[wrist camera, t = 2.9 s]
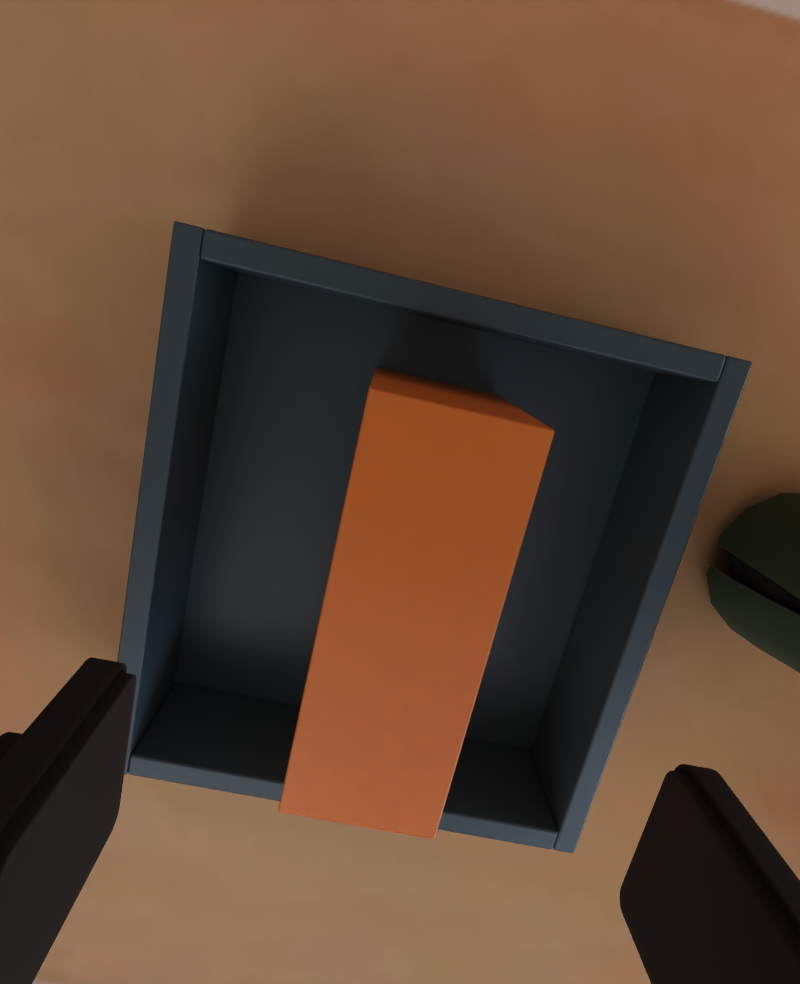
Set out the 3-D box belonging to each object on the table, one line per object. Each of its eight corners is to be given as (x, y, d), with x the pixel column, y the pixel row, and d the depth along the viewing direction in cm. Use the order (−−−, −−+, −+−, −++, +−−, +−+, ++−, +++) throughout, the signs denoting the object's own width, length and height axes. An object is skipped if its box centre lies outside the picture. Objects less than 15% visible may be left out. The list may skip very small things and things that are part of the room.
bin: (676, 354, 23) (754, 362, 18) (541, 760, 27) (574, 854, 22) (221, 244, 21) (173, 220, 17) (156, 687, 26) (103, 771, 21)
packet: (498, 394, 22) (556, 429, 15) (420, 683, 25) (434, 840, 18) (376, 365, 22) (368, 387, 14) (311, 662, 25) (277, 812, 17)
